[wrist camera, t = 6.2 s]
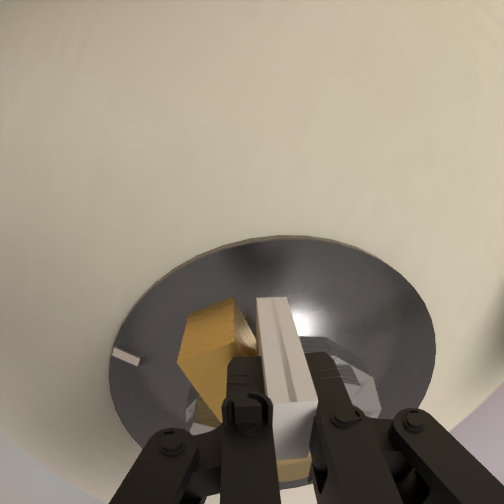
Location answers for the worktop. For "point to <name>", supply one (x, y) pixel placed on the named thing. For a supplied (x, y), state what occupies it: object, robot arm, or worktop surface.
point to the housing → (245, 293)
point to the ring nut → (244, 345)
